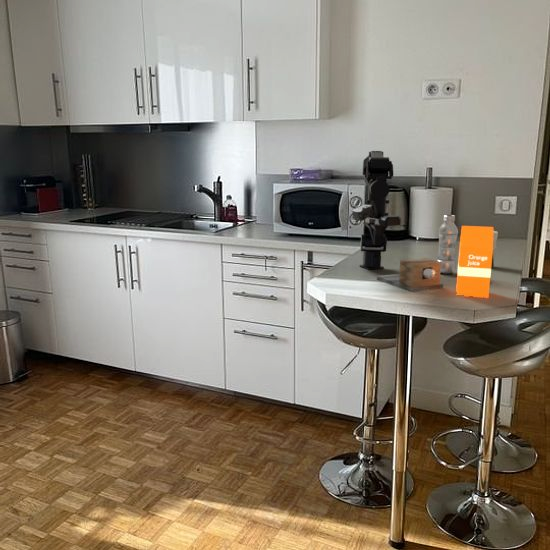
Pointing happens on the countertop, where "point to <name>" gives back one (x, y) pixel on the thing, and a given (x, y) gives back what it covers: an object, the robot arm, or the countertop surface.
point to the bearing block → (414, 275)
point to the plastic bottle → (447, 244)
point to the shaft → (429, 273)
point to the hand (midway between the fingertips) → (375, 244)
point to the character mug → (494, 244)
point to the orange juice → (475, 261)
